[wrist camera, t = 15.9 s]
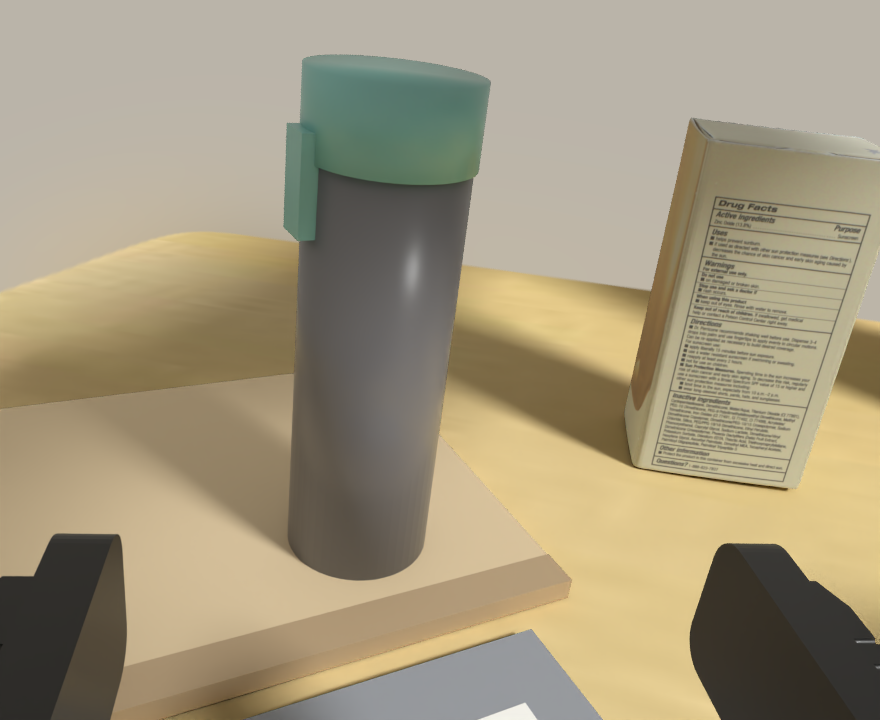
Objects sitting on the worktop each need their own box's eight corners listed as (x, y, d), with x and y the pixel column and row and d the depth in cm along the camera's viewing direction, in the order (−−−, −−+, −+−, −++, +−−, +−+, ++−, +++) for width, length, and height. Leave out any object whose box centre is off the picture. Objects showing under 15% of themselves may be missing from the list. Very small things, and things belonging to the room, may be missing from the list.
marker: (391, 480, 27) (437, 59, 21) (453, 562, 24) (526, 91, 18) (257, 507, 25) (266, 50, 19) (304, 601, 21) (332, 84, 16)
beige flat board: (374, 376, 35) (375, 362, 34) (718, 769, 19) (725, 749, 19) (-146, 443, 26) (-150, 425, 26) (-282, 1235, 11) (-295, 1214, 10)
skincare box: (769, 435, 34) (872, 136, 29) (799, 496, 30) (925, 162, 25) (613, 411, 34) (687, 110, 29) (623, 468, 30) (710, 132, 25)
